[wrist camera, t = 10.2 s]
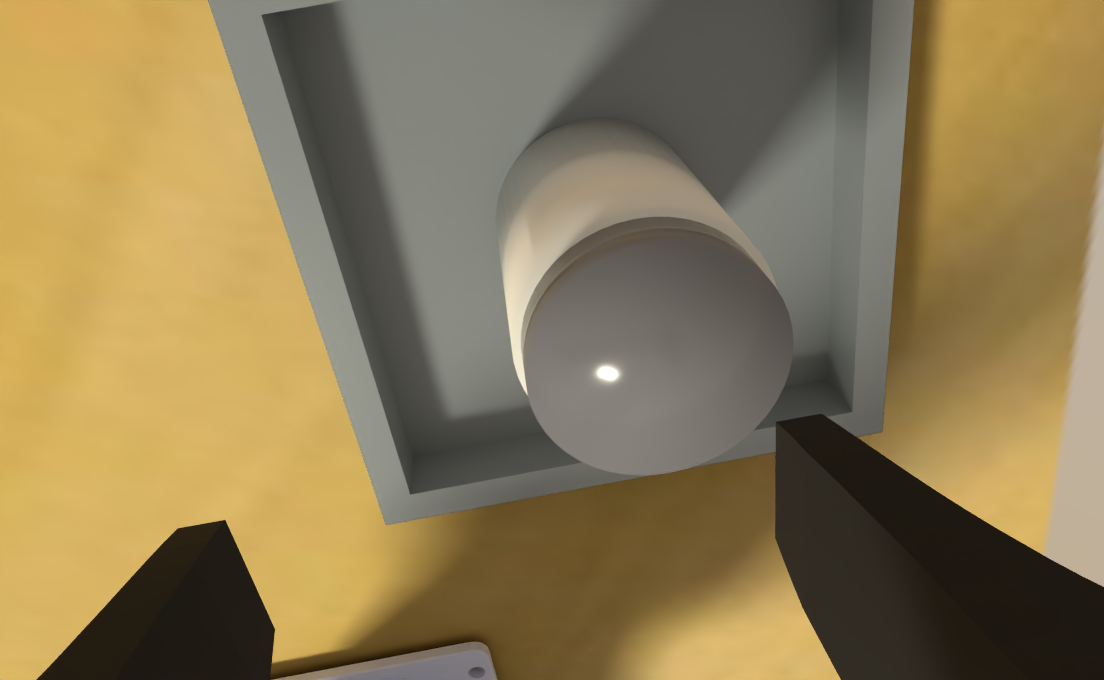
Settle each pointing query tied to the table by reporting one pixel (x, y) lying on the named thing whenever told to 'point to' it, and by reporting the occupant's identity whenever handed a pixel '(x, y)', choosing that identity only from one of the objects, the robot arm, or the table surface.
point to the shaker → (635, 302)
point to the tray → (496, 143)
